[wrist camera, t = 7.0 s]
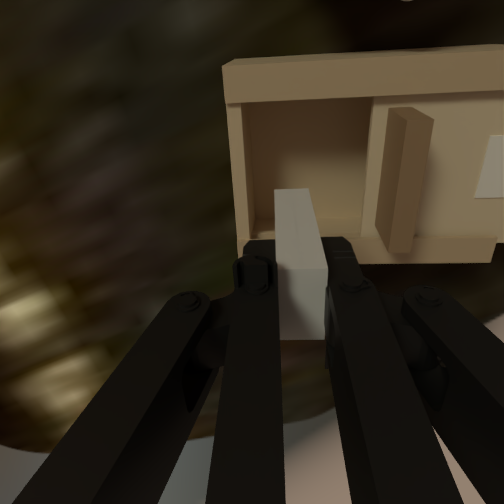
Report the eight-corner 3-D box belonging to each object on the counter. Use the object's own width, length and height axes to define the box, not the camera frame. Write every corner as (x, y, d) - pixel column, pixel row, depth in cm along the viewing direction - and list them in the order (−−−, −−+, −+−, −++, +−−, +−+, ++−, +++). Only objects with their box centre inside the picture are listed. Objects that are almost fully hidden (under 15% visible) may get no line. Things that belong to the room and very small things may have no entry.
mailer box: (246, 224, 31) (239, 265, 25) (235, 59, 25) (222, 65, 19) (451, 220, 29) (490, 262, 24) (492, 43, 23) (555, 46, 18)
